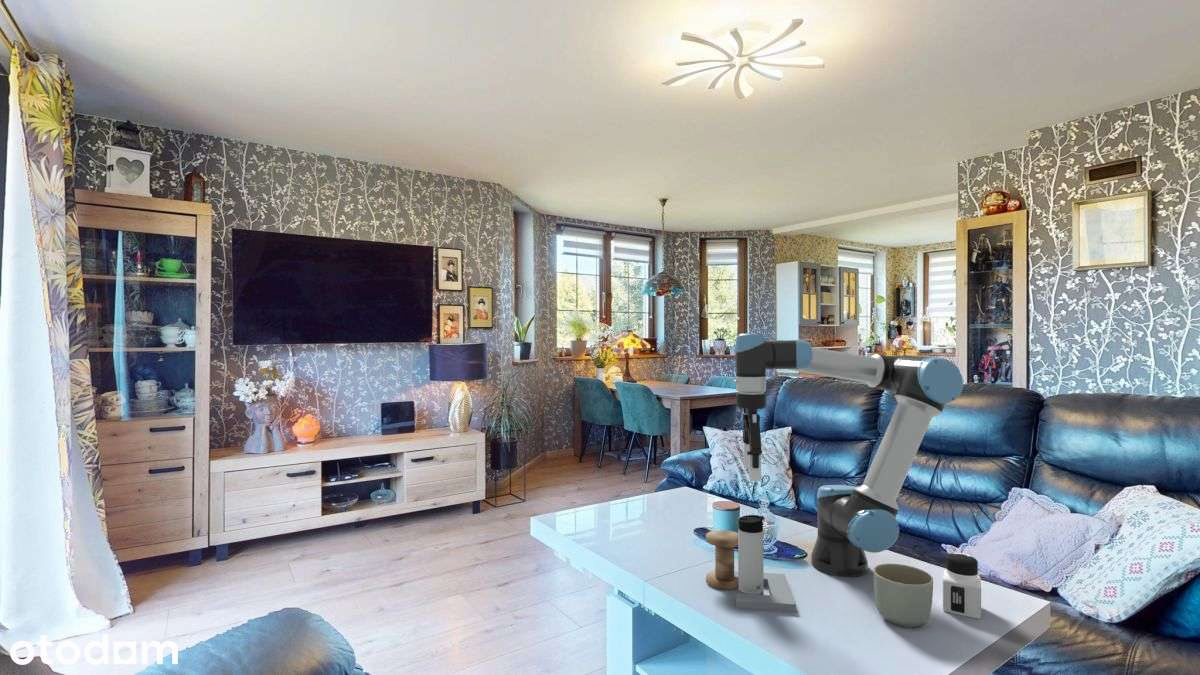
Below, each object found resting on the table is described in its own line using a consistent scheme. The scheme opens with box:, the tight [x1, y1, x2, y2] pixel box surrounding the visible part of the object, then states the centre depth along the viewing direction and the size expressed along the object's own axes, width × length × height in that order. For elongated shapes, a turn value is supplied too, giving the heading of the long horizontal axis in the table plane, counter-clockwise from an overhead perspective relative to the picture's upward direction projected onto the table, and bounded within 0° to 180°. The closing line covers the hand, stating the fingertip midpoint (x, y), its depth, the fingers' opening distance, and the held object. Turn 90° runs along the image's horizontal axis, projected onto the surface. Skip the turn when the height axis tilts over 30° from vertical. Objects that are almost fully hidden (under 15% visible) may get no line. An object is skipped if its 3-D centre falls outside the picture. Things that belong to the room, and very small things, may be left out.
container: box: [942, 552, 982, 620], centre depth 142 cm, size 8×8×13 cm
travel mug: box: [737, 514, 766, 595], centre depth 151 cm, size 6×7×20 cm
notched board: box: [734, 570, 797, 614], centre depth 150 cm, size 14×18×2 cm
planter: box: [872, 563, 934, 628], centre depth 136 cm, size 12×12×11 cm
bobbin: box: [705, 529, 739, 591], centre depth 158 cm, size 10×10×12 cm
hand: (751, 474), depth 152 cm, fingers open, 13 cm apart
